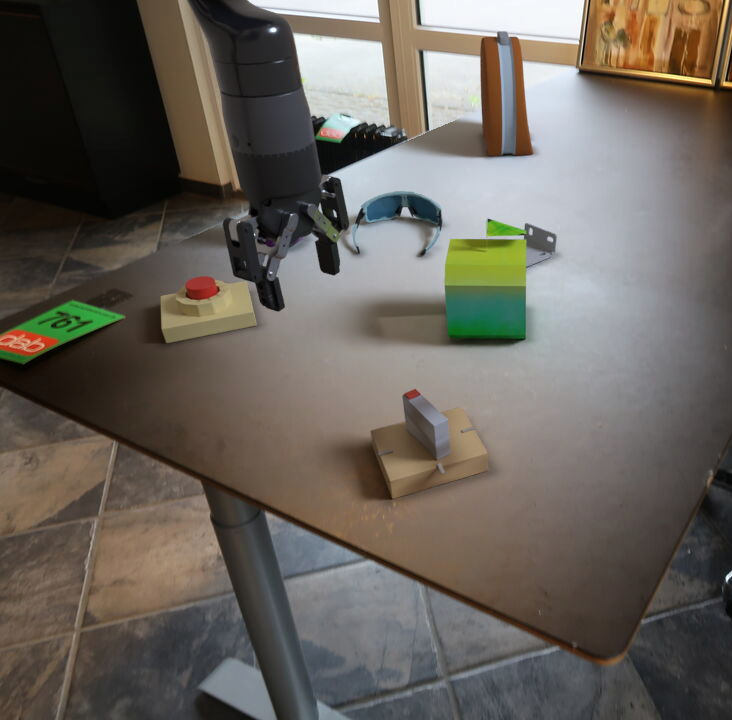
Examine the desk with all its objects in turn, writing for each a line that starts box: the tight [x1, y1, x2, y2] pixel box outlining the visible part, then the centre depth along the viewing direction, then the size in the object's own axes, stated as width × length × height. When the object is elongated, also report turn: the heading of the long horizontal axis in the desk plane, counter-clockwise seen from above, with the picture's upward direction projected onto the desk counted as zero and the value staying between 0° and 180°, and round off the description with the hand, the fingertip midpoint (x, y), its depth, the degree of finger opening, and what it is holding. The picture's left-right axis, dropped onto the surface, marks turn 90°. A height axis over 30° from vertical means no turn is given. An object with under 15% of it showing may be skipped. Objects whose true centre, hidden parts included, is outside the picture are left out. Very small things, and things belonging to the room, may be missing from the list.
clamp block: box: [370, 406, 489, 500], centre depth 72 cm, size 10×10×3 cm
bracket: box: [523, 222, 558, 268], centre depth 109 cm, size 7×10×4 cm, turn 140°
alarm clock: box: [479, 30, 535, 157], centre depth 148 cm, size 22×10×23 cm, turn 8°
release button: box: [184, 275, 218, 300], centre depth 92 cm, size 4×4×2 cm
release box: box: [160, 279, 258, 344], centre depth 93 cm, size 11×9×4 cm
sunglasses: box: [351, 190, 444, 257], centre depth 115 cm, size 14×15×5 cm
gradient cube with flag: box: [444, 218, 527, 340], centre depth 90 cm, size 11×10×15 cm
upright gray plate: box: [401, 388, 450, 460], centre depth 70 cm, size 6×2×5 cm, turn 39°
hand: (304, 289), depth 74 cm, fingers open, 8 cm apart
